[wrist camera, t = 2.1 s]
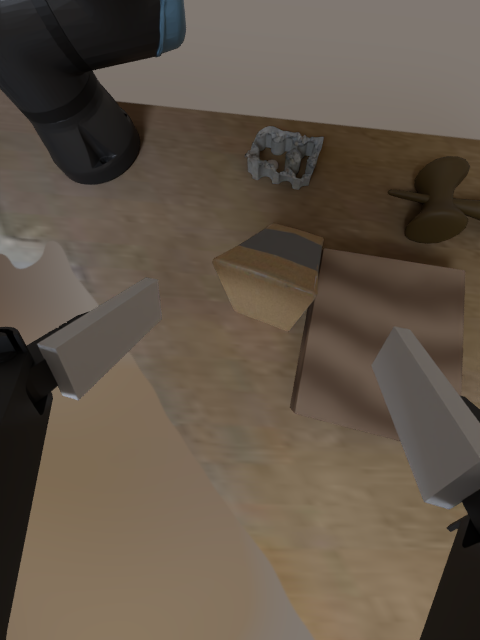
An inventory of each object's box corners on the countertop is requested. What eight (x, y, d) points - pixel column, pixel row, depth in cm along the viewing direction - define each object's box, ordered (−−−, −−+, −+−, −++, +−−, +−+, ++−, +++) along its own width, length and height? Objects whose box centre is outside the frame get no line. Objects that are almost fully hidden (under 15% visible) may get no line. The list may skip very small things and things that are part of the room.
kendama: (523, 268, 30) (370, 235, 32) (524, 209, 32) (380, 182, 34) (588, 242, 24) (396, 204, 27) (584, 172, 26) (407, 142, 29)
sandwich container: (326, 238, 33) (378, 132, 18) (291, 333, 30) (319, 297, 16) (271, 221, 34) (279, 111, 20) (233, 311, 32) (210, 259, 17)
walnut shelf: (315, 263, 32) (323, 248, 28) (437, 284, 30) (465, 270, 26) (289, 407, 28) (294, 413, 24) (427, 443, 26) (459, 456, 22)
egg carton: (242, 178, 37) (240, 155, 33) (260, 143, 38) (260, 117, 34) (304, 196, 35) (310, 173, 31) (321, 159, 36) (328, 132, 32)
